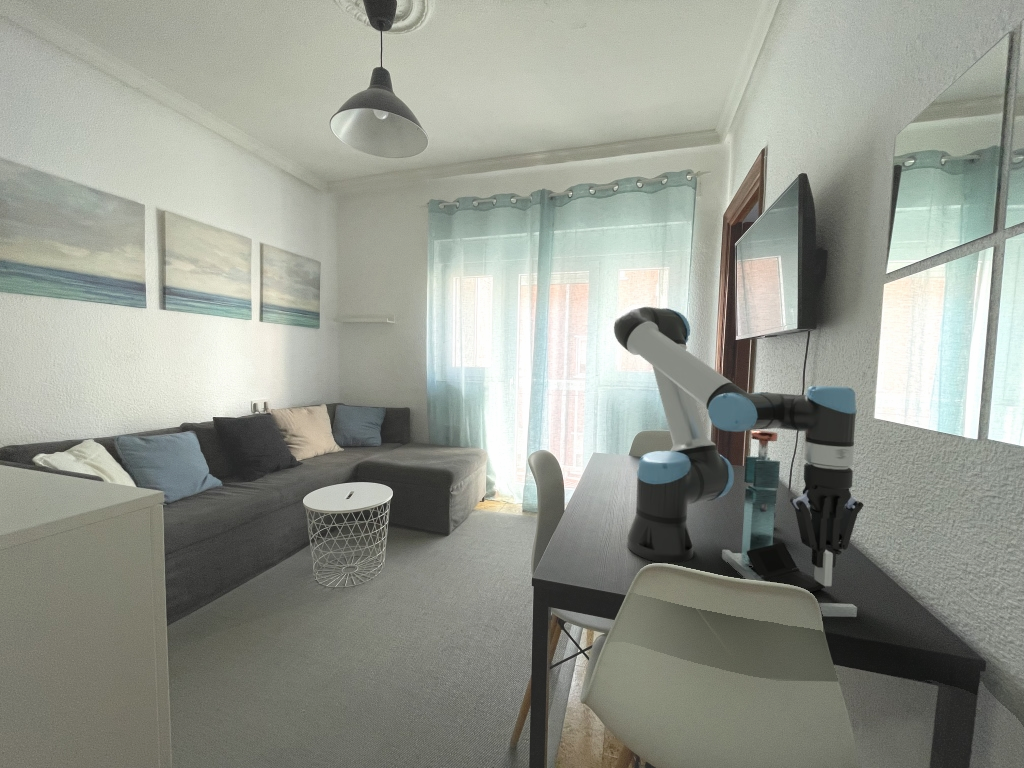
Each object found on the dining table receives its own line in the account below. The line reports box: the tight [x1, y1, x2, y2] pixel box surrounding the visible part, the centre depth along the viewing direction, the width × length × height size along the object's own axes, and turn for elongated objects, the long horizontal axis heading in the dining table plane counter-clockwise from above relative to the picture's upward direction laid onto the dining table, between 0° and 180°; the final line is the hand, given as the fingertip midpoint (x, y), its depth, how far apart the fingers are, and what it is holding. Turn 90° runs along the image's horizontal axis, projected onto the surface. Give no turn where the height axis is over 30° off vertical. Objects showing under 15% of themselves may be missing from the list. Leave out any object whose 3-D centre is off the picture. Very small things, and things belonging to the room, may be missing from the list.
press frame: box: [721, 455, 858, 618], centre depth 83 cm, size 13×22×24 cm, turn 179°
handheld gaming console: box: [747, 542, 826, 593], centre depth 83 cm, size 11×10×4 cm
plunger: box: [750, 429, 778, 460], centre depth 91 cm, size 5×5×8 cm
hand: (822, 582), depth 79 cm, fingers closed
